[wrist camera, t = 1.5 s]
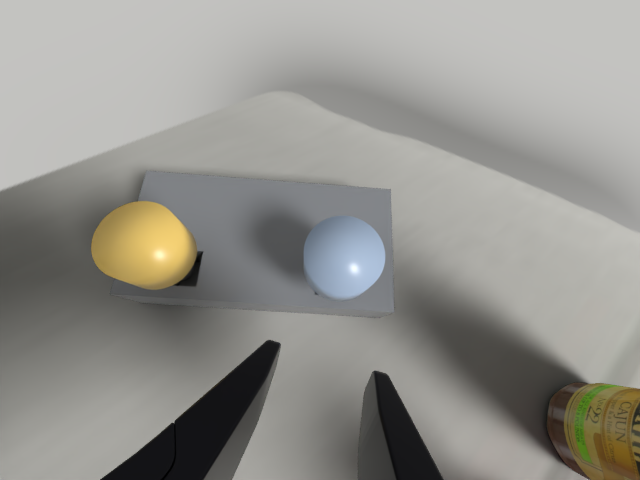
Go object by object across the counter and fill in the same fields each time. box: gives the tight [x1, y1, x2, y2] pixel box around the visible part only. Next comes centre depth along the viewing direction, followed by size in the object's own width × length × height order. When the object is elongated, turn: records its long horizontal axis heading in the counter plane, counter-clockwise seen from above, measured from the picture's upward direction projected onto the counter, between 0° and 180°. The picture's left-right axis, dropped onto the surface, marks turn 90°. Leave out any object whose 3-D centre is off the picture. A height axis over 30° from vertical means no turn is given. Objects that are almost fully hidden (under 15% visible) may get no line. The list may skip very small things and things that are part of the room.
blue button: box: [304, 216, 385, 302], centre depth 17 cm, size 4×4×6 cm
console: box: [110, 171, 394, 318], centre depth 22 cm, size 18×9×4 cm, turn 87°
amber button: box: [91, 201, 197, 290], centre depth 17 cm, size 4×4×6 cm
